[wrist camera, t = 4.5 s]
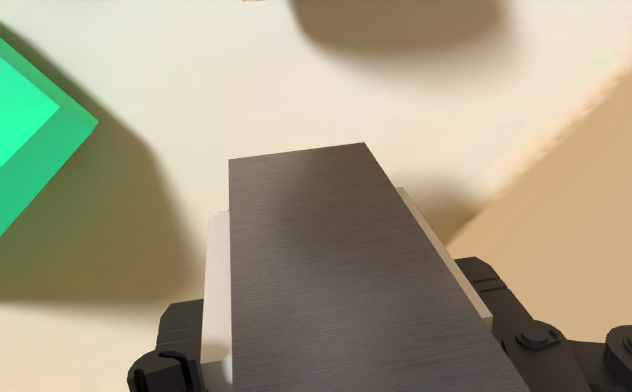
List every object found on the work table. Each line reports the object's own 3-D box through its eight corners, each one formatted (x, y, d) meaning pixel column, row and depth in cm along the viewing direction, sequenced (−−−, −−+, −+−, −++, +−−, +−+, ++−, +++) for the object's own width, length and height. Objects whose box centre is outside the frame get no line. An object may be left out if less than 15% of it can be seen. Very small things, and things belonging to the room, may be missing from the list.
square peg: (246, 275, 20) (272, 672, 9) (228, 159, 18) (234, 492, 7) (369, 257, 20) (529, 616, 10) (364, 142, 18) (558, 432, 8)
